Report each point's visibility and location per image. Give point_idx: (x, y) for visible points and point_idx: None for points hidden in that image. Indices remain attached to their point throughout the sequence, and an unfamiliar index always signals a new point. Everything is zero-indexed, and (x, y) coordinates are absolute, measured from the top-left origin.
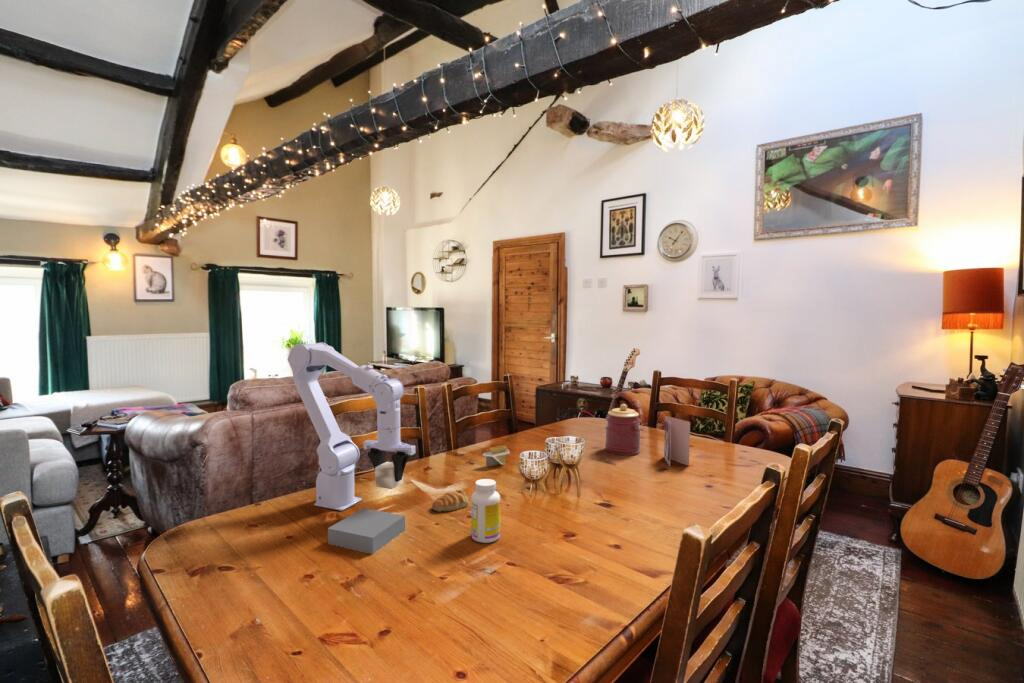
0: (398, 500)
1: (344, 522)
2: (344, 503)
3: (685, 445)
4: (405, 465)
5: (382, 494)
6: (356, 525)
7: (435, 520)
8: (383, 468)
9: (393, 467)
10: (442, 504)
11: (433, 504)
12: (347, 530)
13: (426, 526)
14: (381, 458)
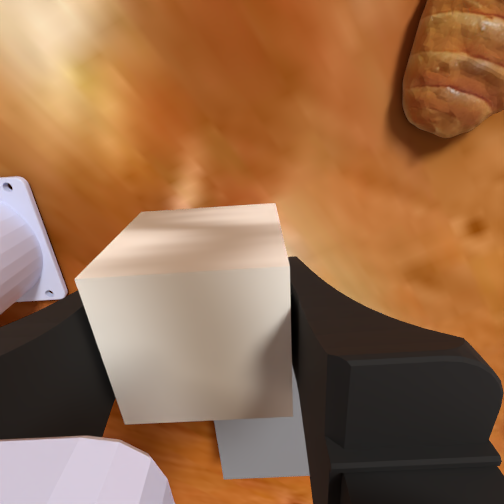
0: (176, 90)
1: (237, 446)
2: (35, 277)
3: None
4: (347, 298)
5: (35, 56)
6: (287, 446)
7: (459, 206)
8: (210, 420)
9: (271, 378)
10: (486, 117)
11: (425, 120)
12: (285, 470)
13: (442, 262)
14: (63, 394)
